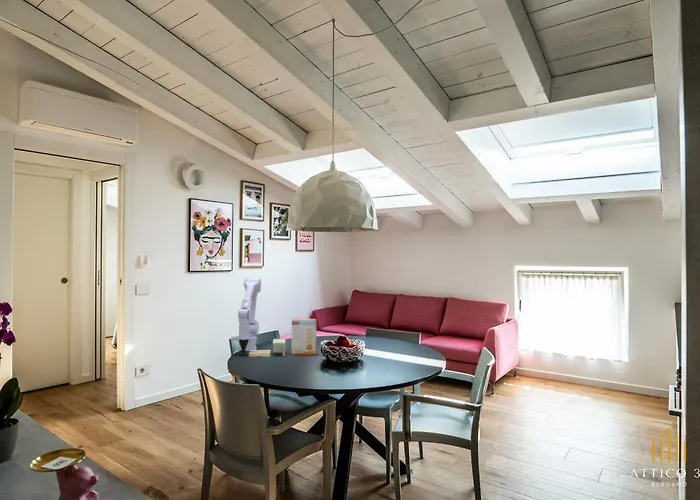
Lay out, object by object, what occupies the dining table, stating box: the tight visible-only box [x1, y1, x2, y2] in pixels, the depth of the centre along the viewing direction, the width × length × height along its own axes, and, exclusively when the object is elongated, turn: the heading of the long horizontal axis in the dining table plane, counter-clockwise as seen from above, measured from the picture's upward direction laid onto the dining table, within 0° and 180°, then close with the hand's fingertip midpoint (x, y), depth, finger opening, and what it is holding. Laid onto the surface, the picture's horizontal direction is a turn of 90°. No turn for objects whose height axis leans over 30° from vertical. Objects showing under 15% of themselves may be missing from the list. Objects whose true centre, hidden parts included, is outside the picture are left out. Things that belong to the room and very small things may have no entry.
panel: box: [248, 349, 272, 358], centre depth 254 cm, size 8×12×2 cm, turn 98°
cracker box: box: [290, 317, 317, 356], centre depth 259 cm, size 14×6×21 cm, turn 84°
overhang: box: [272, 338, 287, 357], centre depth 257 cm, size 12×7×8 cm, turn 7°
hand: (243, 352), depth 253 cm, fingers closed
